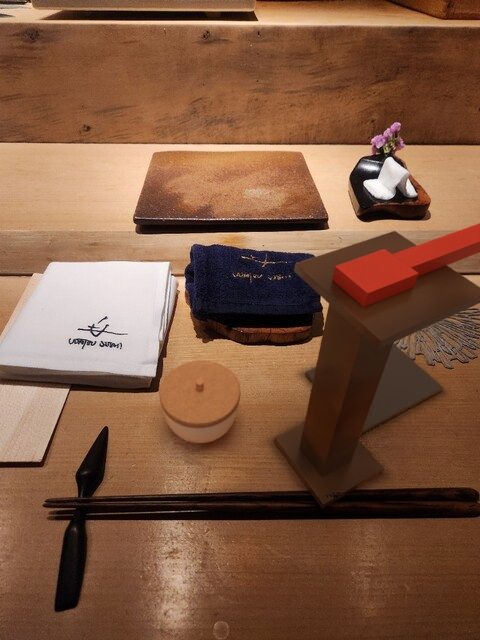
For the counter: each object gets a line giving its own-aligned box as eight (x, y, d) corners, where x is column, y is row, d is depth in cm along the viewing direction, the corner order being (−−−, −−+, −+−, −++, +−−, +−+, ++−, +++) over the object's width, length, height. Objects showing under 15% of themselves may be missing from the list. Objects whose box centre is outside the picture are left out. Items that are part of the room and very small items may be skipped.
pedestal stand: (401, 466, 62) (488, 292, 42) (324, 512, 57) (381, 340, 37) (344, 403, 69) (394, 230, 49) (272, 439, 64) (295, 263, 44)
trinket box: (149, 420, 66) (141, 378, 60) (207, 382, 72) (205, 340, 65) (195, 472, 60) (192, 431, 54) (254, 426, 66) (257, 384, 59)
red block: (512, 247, 47) (519, 234, 46) (363, 307, 40) (367, 293, 38) (477, 227, 50) (482, 214, 49) (331, 280, 42) (334, 265, 41)
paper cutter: (442, 391, 72) (443, 387, 71) (358, 436, 65) (359, 432, 65) (384, 339, 80) (385, 335, 79) (304, 374, 73) (305, 371, 73)
